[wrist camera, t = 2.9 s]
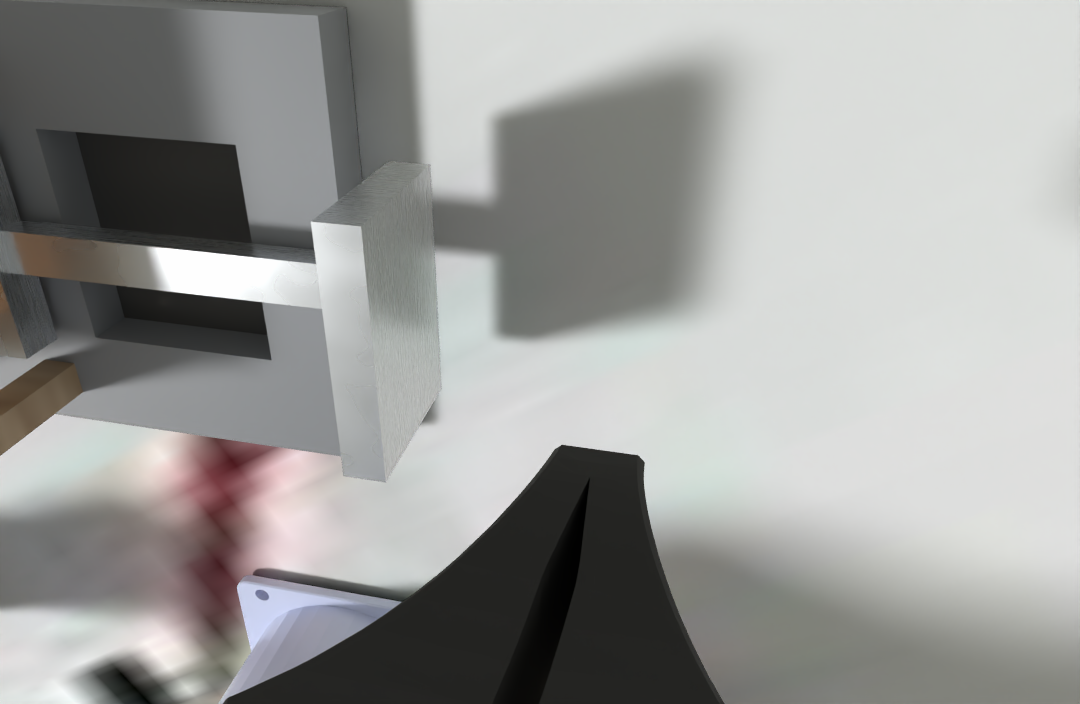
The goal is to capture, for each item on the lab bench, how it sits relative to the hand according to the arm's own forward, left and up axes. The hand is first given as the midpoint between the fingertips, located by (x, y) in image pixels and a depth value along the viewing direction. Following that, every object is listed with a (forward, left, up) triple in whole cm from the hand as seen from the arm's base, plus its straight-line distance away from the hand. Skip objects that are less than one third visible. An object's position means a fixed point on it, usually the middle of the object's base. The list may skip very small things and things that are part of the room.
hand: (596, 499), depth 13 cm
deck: (+19, 0, -9) cm, 21 cm away
